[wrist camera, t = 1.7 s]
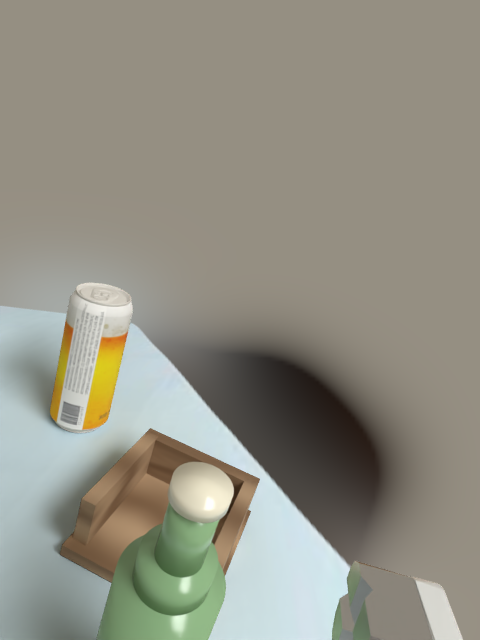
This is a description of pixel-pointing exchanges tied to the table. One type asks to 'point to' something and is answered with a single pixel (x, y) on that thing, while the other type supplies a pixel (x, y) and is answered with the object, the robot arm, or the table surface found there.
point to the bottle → (173, 565)
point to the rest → (148, 504)
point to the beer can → (90, 356)
